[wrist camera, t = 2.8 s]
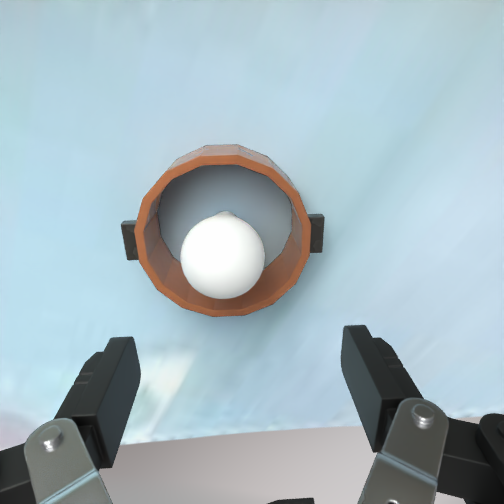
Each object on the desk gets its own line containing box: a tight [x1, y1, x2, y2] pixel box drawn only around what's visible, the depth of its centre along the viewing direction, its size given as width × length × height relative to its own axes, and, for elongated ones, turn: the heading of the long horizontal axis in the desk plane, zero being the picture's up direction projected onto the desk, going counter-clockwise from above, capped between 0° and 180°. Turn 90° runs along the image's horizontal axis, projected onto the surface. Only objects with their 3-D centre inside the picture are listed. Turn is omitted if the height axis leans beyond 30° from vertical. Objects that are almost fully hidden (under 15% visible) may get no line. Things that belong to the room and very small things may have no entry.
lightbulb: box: [181, 211, 265, 299], centre depth 28 cm, size 6×6×11 cm
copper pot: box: [121, 145, 324, 317], centre depth 30 cm, size 16×14×6 cm
